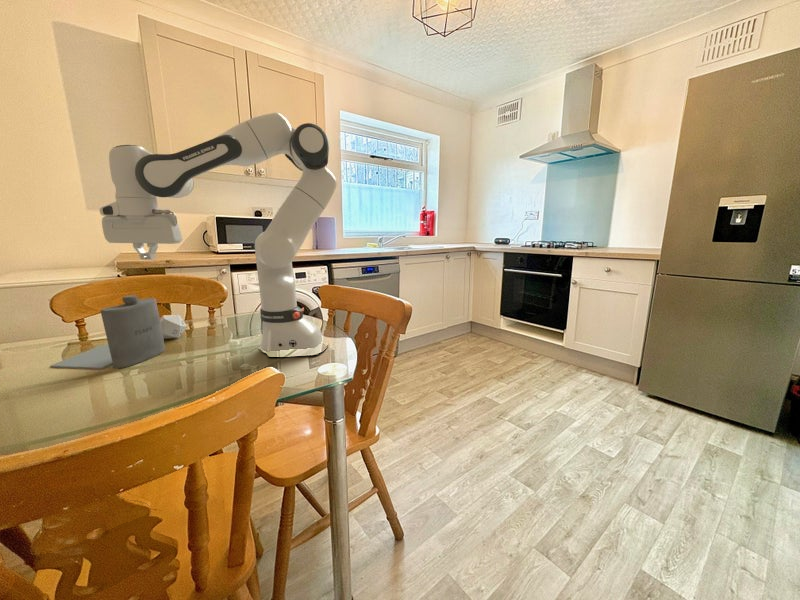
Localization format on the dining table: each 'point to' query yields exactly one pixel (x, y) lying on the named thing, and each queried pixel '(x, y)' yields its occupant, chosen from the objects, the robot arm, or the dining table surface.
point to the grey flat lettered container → (133, 331)
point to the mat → (88, 359)
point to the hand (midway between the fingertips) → (148, 259)
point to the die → (172, 326)
